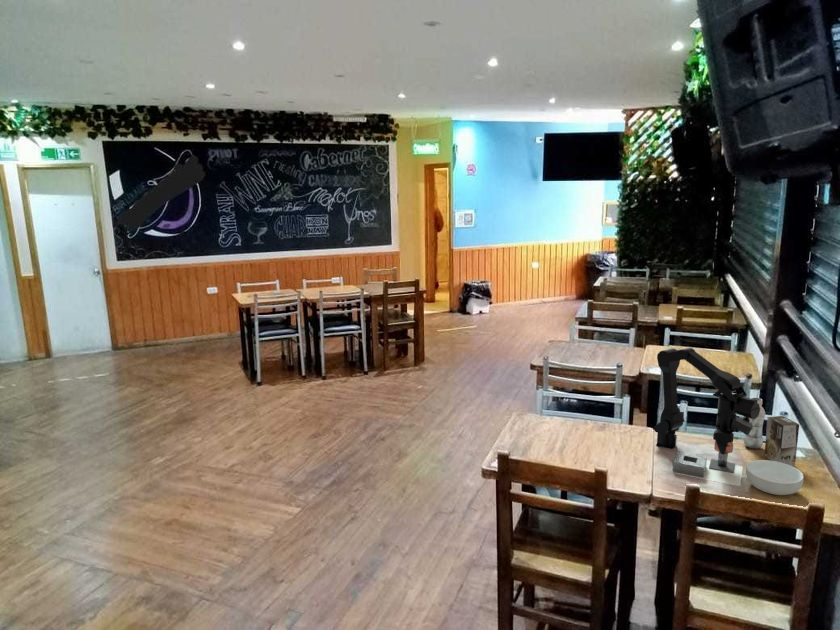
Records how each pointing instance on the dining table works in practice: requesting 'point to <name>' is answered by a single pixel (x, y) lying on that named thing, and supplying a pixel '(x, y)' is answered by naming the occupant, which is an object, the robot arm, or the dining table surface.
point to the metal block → (690, 464)
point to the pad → (715, 466)
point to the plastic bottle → (756, 429)
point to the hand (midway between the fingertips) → (723, 450)
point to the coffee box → (781, 440)
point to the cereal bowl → (774, 477)
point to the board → (722, 475)
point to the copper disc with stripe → (723, 457)
